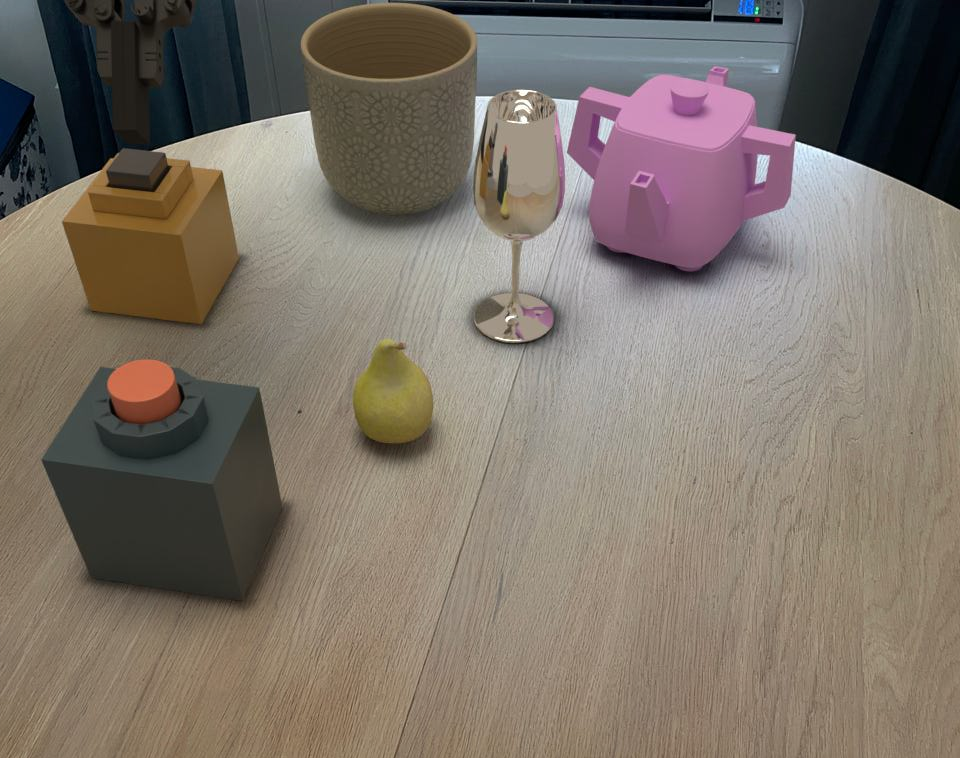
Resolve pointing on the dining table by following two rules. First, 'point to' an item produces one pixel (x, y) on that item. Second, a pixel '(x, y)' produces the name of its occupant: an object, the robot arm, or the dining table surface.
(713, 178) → the teapot
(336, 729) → the dining table surface
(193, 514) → the button box
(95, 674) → the dining table surface
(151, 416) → the red button
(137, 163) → the button
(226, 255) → the push-button base
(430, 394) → the fruit
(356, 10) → the planter
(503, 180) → the wineglass
